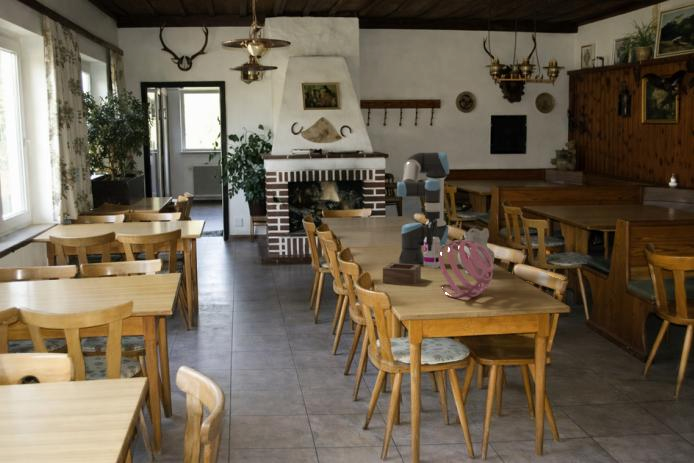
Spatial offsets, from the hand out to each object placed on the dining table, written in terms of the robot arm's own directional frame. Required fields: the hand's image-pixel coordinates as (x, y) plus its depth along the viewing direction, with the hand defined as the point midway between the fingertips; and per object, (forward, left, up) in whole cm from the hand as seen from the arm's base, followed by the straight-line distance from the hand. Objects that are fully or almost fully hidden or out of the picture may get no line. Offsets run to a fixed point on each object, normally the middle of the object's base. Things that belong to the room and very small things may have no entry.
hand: (431, 255), depth 385 cm
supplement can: (0, 0, -6) cm, 6 cm away
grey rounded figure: (-33, +17, -15) cm, 40 cm away
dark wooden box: (-2, -16, -14) cm, 22 cm away
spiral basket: (+24, +22, -15) cm, 36 cm away
